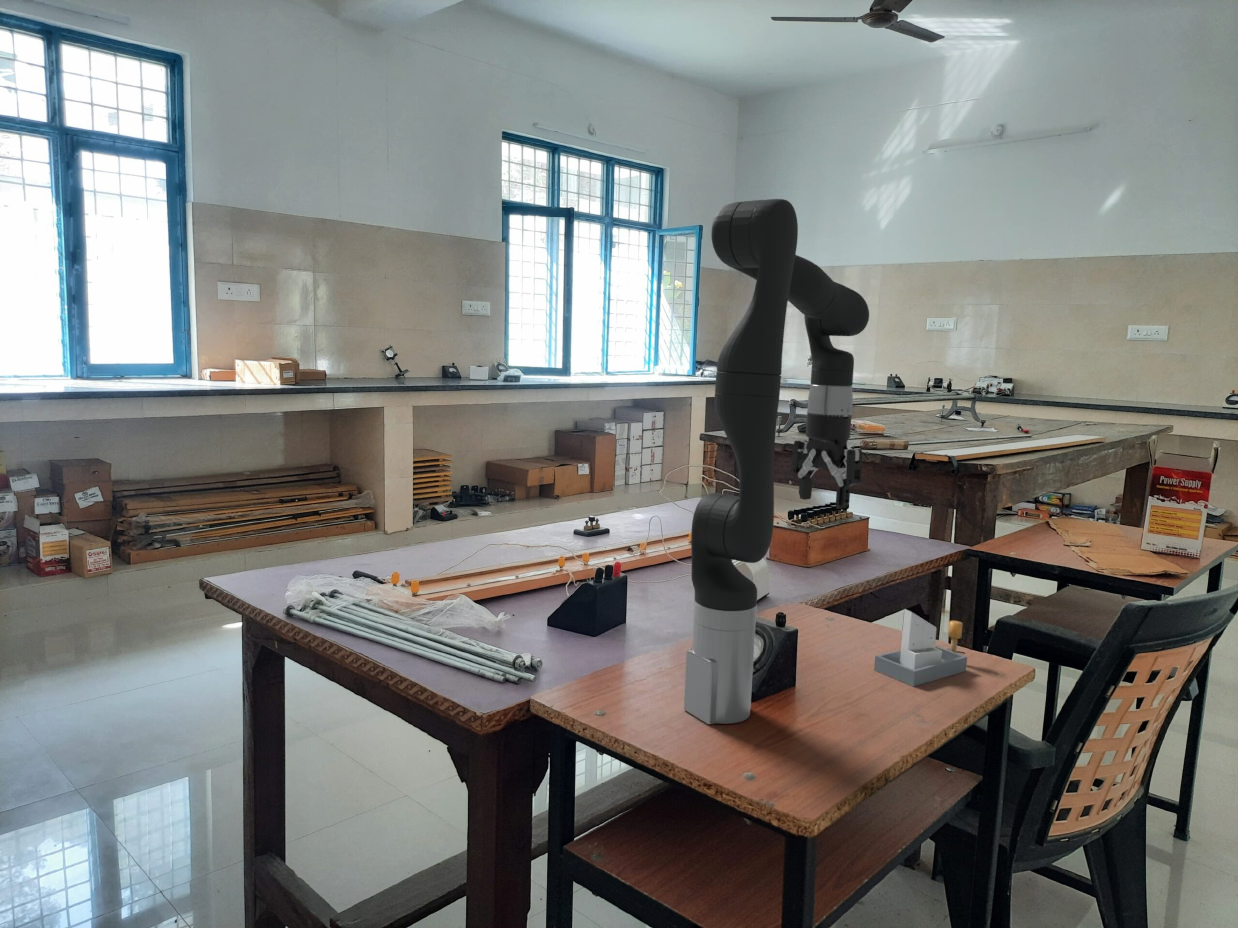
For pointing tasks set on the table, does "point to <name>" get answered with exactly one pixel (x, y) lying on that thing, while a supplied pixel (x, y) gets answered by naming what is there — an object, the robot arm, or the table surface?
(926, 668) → the shallow grey tray
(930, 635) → the white angled block
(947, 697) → the table surface
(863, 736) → the table surface
